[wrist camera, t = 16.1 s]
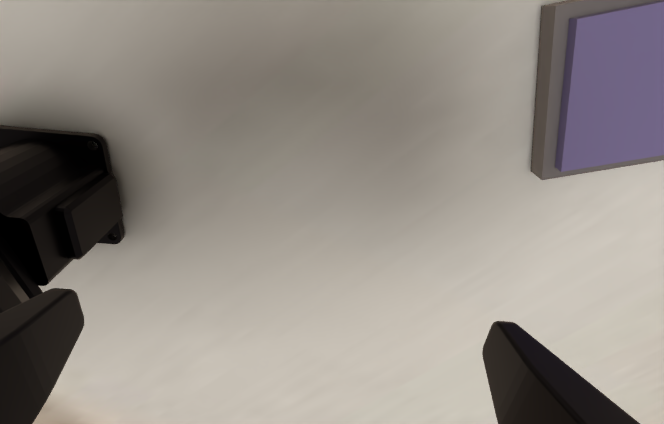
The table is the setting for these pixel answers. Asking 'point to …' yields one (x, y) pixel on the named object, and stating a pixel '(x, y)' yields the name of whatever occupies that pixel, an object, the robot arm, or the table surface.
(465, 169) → the table surface
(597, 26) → the ink pad
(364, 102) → the table surface
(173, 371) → the table surface
